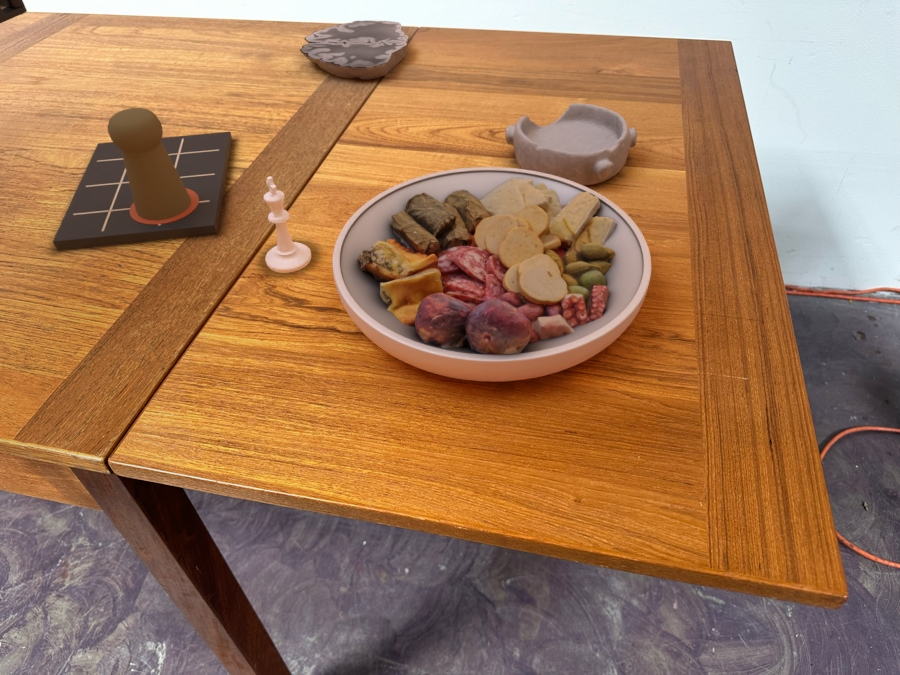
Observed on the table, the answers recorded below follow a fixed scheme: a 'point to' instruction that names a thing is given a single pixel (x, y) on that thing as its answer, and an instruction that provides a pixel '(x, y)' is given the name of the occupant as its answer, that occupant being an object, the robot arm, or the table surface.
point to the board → (112, 206)
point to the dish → (574, 144)
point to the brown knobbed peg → (148, 165)
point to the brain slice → (357, 48)
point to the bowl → (491, 272)
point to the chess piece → (283, 236)
